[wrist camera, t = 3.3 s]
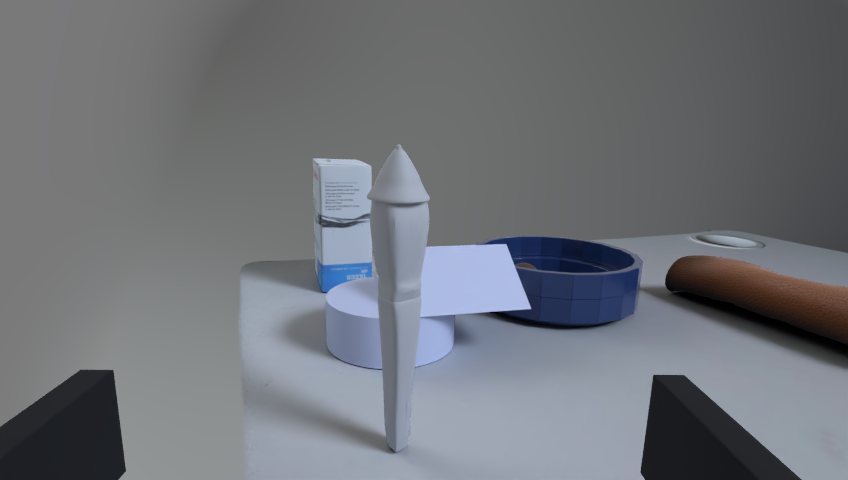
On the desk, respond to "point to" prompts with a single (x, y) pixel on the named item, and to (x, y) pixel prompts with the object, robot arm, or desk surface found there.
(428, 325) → the wedge on round base
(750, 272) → the sunglasses case
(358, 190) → the ink box
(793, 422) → the desk surface
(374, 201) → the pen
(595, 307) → the bowl
